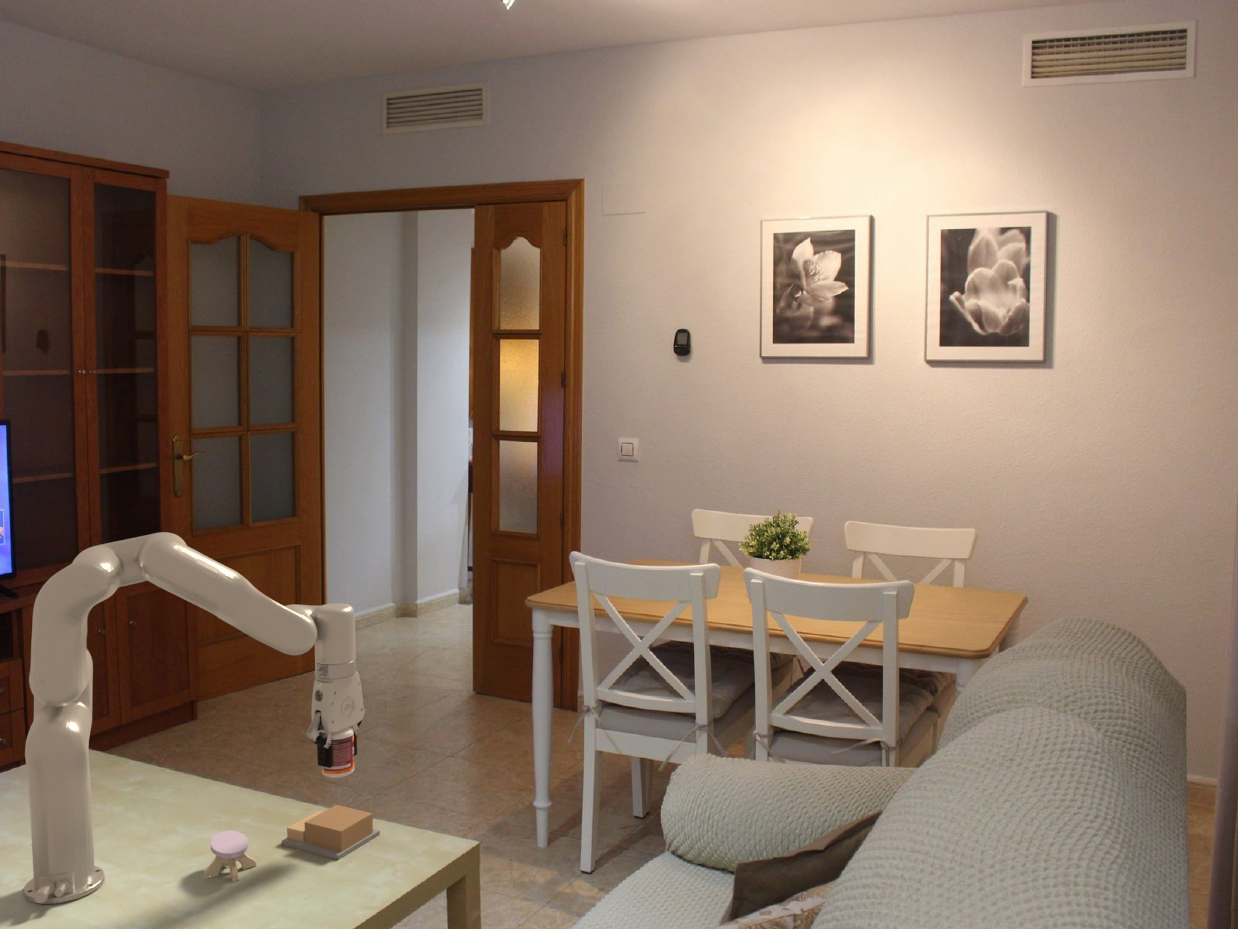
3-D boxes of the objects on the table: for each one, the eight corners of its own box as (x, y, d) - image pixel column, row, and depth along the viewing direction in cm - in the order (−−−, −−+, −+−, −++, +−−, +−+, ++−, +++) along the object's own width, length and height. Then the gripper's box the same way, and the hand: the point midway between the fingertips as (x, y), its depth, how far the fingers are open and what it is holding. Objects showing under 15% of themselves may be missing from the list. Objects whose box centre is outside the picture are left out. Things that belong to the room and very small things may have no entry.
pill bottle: (360, 773, 204) (359, 717, 203) (331, 781, 200) (330, 724, 199) (344, 764, 208) (343, 709, 207) (315, 772, 204) (314, 716, 203)
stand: (379, 834, 208) (379, 811, 208) (338, 860, 198) (338, 835, 197) (324, 821, 215) (324, 798, 214) (281, 844, 204) (281, 820, 203)
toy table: (204, 863, 196) (203, 833, 196) (255, 856, 199) (254, 826, 199) (203, 888, 187) (202, 856, 187) (257, 879, 190) (256, 849, 190)
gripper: (319, 683, 193) (321, 779, 194) (380, 660, 208) (382, 749, 210) (288, 678, 196) (290, 772, 198) (350, 655, 211) (352, 743, 213)
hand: (337, 759), depth 204 cm, fingers closed on pill bottle, 6 cm apart
